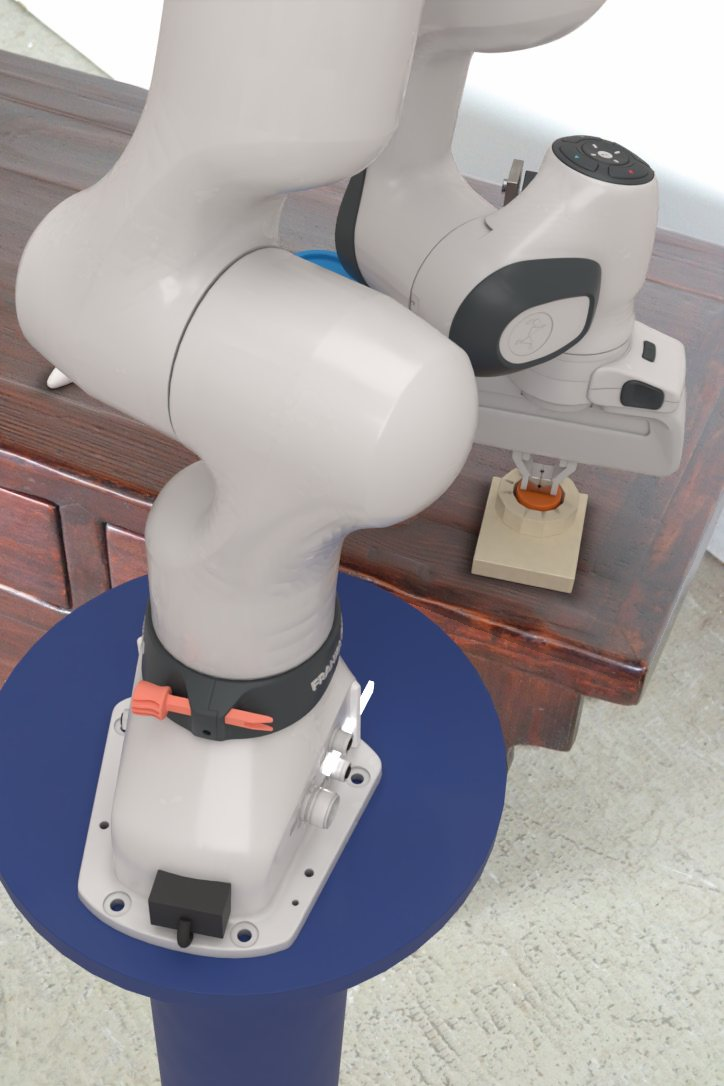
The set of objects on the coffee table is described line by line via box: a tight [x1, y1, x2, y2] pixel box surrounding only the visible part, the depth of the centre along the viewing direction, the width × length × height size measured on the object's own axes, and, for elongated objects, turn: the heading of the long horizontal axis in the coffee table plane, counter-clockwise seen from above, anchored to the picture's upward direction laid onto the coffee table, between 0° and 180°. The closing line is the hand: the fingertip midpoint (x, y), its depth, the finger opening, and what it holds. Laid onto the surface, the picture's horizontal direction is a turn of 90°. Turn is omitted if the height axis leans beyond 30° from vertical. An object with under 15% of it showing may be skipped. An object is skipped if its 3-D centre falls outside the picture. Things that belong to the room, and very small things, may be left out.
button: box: [515, 480, 562, 512], centre depth 108 cm, size 4×4×2 cm
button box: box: [470, 467, 589, 594], centre depth 108 cm, size 10×8×4 cm
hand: (539, 487), depth 108 cm, fingers closed, pressing on button
